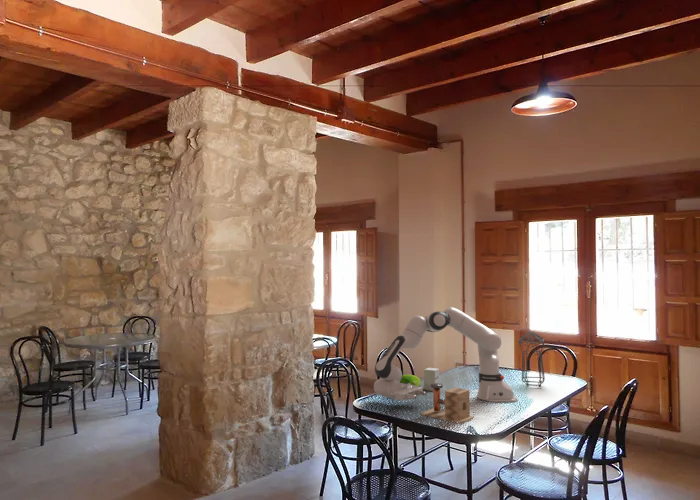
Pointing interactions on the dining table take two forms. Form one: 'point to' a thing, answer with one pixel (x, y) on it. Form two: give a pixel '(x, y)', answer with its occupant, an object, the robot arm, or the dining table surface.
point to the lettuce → (410, 380)
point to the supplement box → (430, 377)
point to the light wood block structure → (453, 407)
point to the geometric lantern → (537, 355)
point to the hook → (437, 396)
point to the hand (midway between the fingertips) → (420, 395)
